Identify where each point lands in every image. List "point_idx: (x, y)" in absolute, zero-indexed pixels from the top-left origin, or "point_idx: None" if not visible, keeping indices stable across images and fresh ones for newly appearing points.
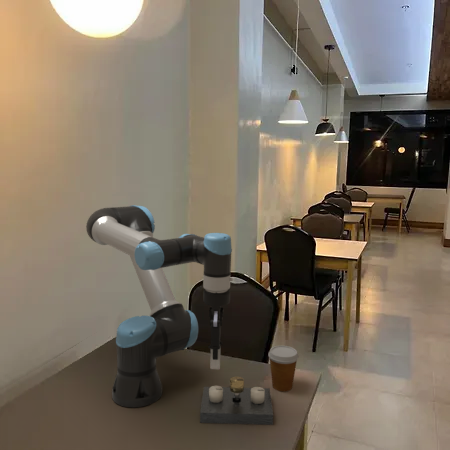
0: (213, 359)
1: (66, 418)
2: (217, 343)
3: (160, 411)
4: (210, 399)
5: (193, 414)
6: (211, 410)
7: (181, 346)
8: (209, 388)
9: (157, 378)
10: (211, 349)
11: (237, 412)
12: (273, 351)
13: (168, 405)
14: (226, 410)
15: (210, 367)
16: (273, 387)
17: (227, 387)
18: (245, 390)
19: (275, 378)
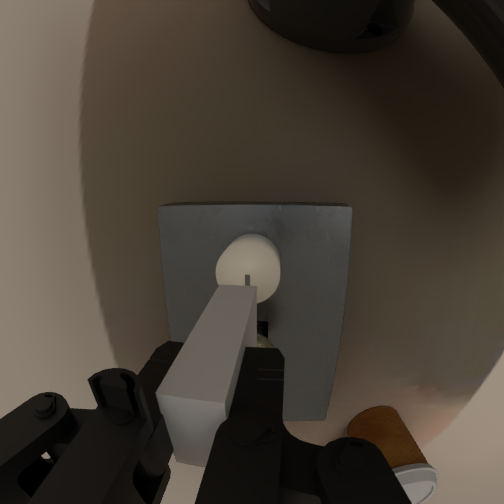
0: (168, 347)
1: None
2: (23, 478)
3: (230, 63)
4: (232, 241)
5: (217, 174)
6: (174, 246)
7: (500, 72)
8: (252, 244)
9: (339, 8)
10: (167, 384)
11: (175, 331)
12: (409, 485)
13: (270, 80)
14: (181, 298)
15: (217, 289)
16: (370, 409)
17: (343, 302)
18: (317, 362)
19: (363, 437)
